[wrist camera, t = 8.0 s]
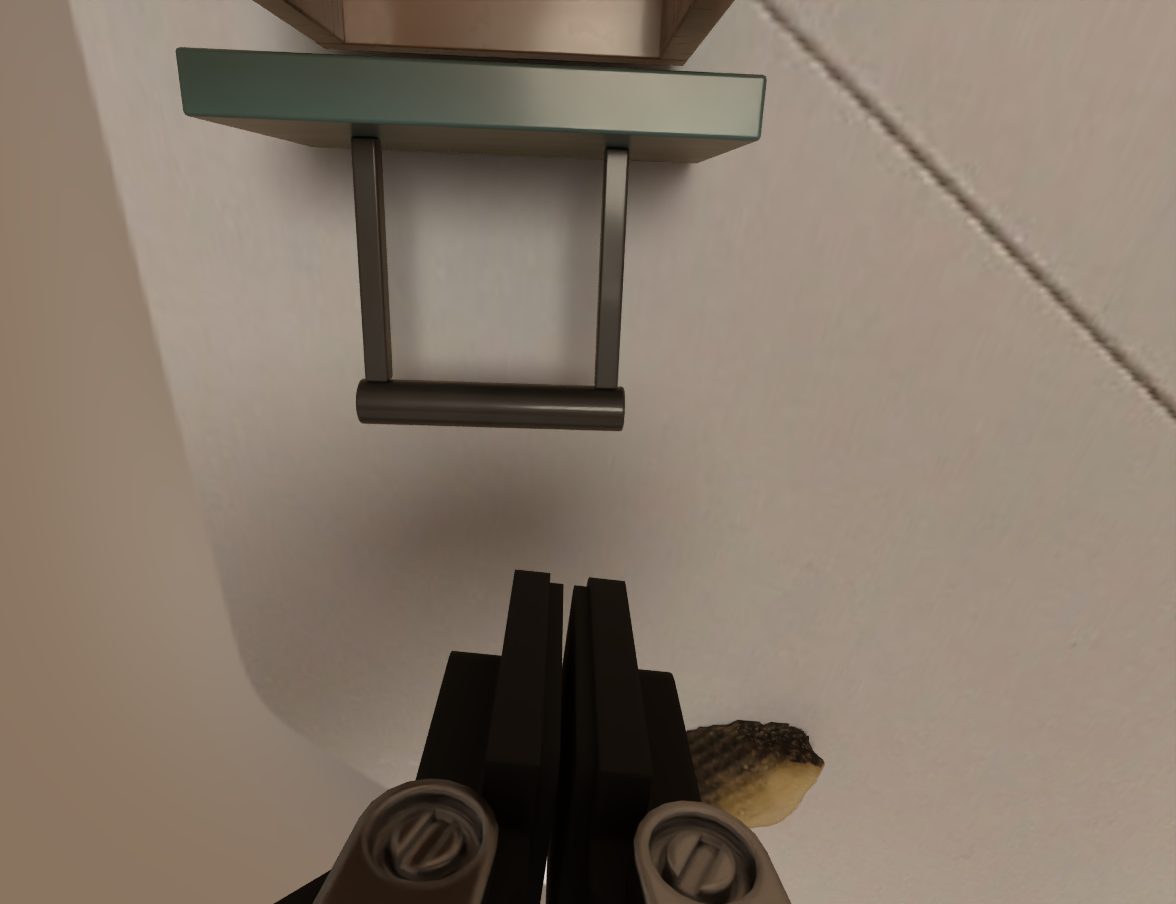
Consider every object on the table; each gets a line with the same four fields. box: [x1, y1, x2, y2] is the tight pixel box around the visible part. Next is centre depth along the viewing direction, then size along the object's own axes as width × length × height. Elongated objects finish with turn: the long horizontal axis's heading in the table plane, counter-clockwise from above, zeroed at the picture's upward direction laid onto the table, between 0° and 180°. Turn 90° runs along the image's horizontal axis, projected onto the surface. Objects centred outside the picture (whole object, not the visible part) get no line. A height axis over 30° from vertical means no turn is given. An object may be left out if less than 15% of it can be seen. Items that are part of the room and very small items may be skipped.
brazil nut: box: [686, 721, 824, 828], centre depth 29 cm, size 6×5×3 cm
